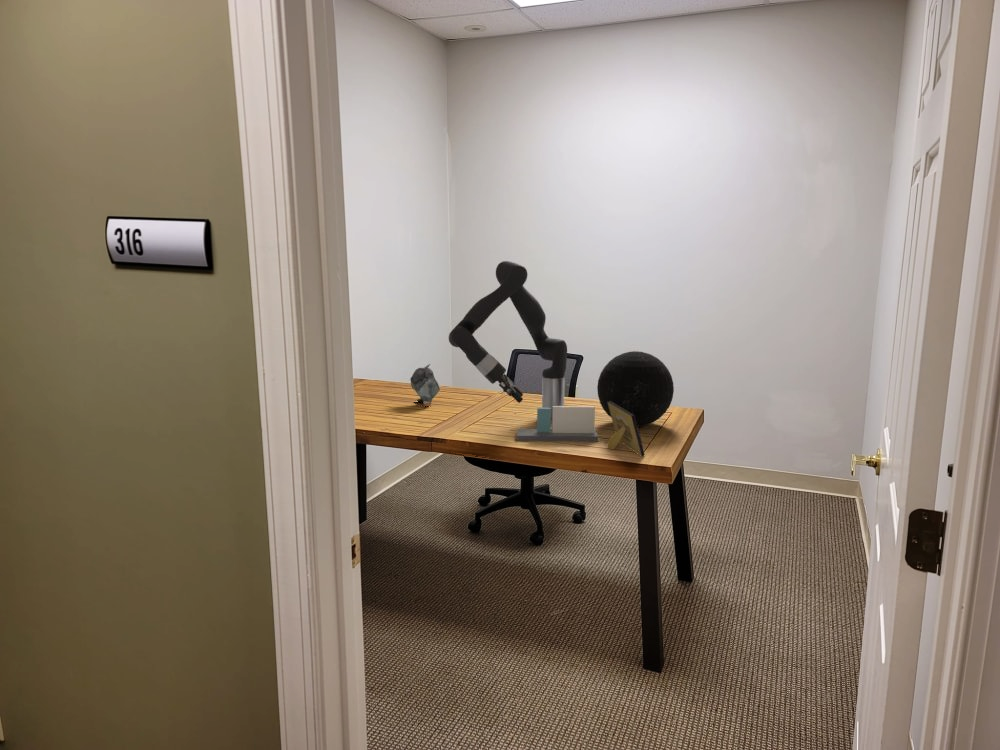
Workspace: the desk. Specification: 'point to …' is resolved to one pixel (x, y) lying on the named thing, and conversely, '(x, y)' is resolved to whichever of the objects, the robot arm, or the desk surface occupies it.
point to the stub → (543, 419)
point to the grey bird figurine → (424, 385)
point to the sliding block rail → (565, 426)
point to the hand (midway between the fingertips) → (521, 398)
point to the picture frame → (624, 429)
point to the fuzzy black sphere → (636, 386)
